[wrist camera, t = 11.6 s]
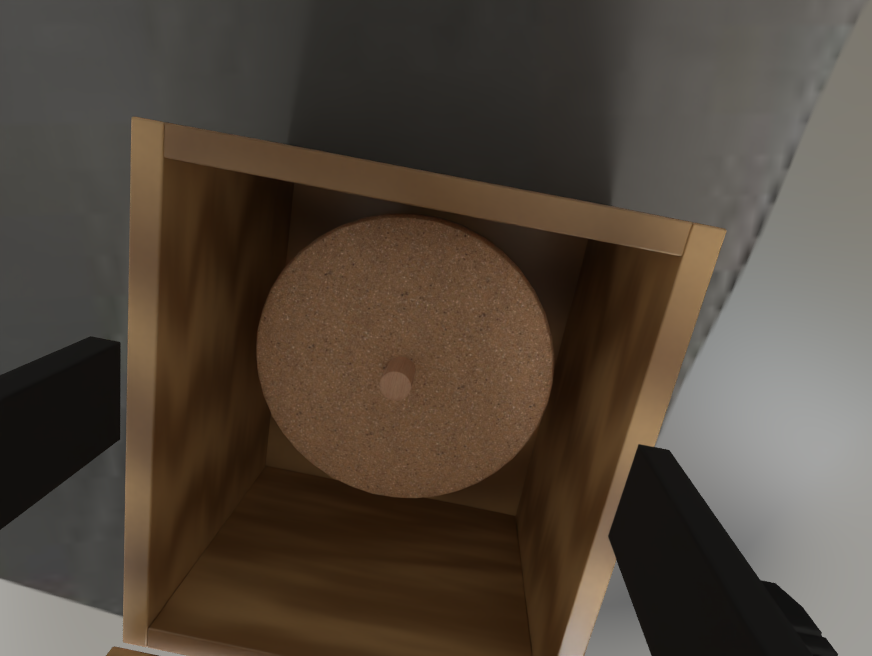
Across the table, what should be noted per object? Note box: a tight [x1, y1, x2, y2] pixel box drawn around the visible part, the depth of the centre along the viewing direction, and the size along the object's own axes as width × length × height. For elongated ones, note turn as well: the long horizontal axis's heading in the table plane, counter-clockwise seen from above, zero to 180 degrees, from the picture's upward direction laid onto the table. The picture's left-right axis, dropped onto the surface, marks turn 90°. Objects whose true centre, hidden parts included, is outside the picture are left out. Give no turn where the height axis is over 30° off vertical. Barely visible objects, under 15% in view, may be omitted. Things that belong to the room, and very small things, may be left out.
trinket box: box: [256, 214, 554, 498], centre depth 22 cm, size 11×11×9 cm
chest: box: [123, 117, 726, 656], centre depth 22 cm, size 18×16×12 cm
